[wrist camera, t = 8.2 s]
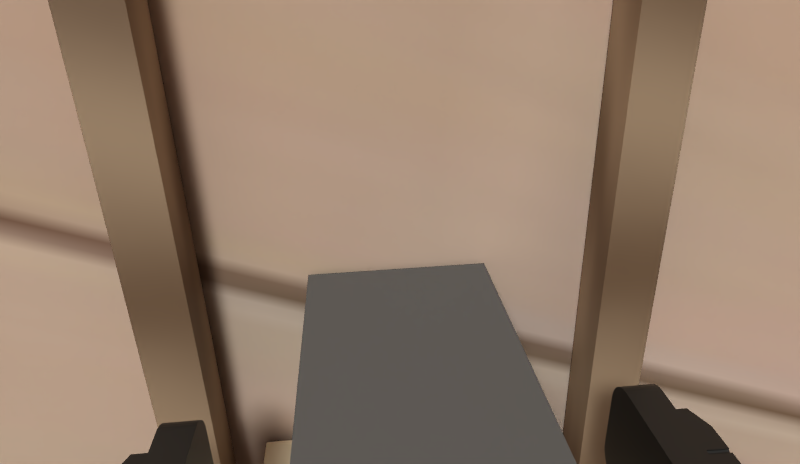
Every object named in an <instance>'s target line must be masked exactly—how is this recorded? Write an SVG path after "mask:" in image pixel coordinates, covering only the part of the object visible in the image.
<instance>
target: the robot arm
mask: <svg viewBox="0 0 800 464" xmlns="http://www.w3.org/2000/svg"><path fill="white" fill-rule="evenodd" d="M604 451H605V460H606V464H741V463H740V462H739V461H738V459H737V458H736V457H735V455H734V454H733V453H730V452H729V448H728V447H727V445H726V444H725V443H724V441H723V440H722V439H721V438H720V436H719V435H718V434H717V433H716V431H715V430H714V429H713V427H712V426H710V425H709V424H708V423H706V422H705V421H703V420H702V419H701V418H699V417H698V416H697V415H695V414H694V413H692V412H691V411H690V410H688V409H687V408H685V409H675V407H674V406H673V405H672V403H671V402H670V401H669V399H668V398H667V397H666V395H665V394H664V392H663V391H662V390H661V389H660V387H658V386H657V385H655V384H646V385H634V386H622V387H616V388H615V389H614V391H613V394H612V400H611V406H610V413H609V419H608V425H607V432H606V438H605V446H604ZM122 464H214V463H213V458H212V453H211V449H210V444H209V439H208V435H207V430H206V426H205V423H204V421H203V420H193V421H181V422H169V423H162V424H160V425H159V427H158V429H157V431H156V434H155V436H154V439H153V442H152V444H151V447H150V449H149V452H148V453H143V454H131V455H130V456H129V457H128V458H127V459H126V460H125V461H124V462H123V463H122Z"/></svg>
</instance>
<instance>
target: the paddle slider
mask: <svg viewBox="0 0 800 464" xmlns="http://www.w3.org/2000/svg"><path fill="white" fill-rule="evenodd" d="M264 464H577V463H576V461H575V459H574V457H573V455H572V452H571V450H570V448H569V446H568V444H567V442H566V439H565V437H564V435H563V433H562V431H561V429H560V427H559V424H558V422H557V420H556V418H555V416H554V414H553V411H552V409H551V407H550V405H549V403H548V401H547V399H546V396H545V394H544V392H543V390H542V388H541V386H540V383H539V381H538V379H537V377H536V375H535V373H534V371H533V368H532V366H531V364H530V362H529V360H528V358H527V355H526V353H525V351H524V349H523V347H522V345H521V343H520V340H519V338H518V336H517V334H516V332H515V330H514V327H513V325H512V323H511V321H510V319H509V317H508V315H507V312H506V310H505V308H504V306H503V304H502V302H501V299H500V297H499V295H498V293H497V291H496V289H495V287H494V284H493V282H492V280H491V278H490V276H489V274H488V271H487V269H486V267H485V265H484V263H481V264H466V265H451V266H436V267H421V268H406V269H391V270H376V271H361V272H346V273H331V274H316V275H308V285H307V295H306V305H305V315H304V325H303V335H302V345H301V355H300V366H299V376H298V386H297V396H296V406H295V416H294V426H293V436H292V440H288V441H276V442H267V444H266V451H265V457H264Z"/></svg>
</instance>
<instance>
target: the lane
mask: <svg viewBox="0 0 800 464" xmlns="http://www.w3.org/2000/svg"><path fill="white" fill-rule="evenodd" d="M48 2H49V6H50V10H51V14H52V18H53V22H54V26H55V29H56V33H57V37H58V41H59V45H60V49H61V53H62V57H63V61H64V64H65V68H66V72H67V76H68V80H69V84H70V88H71V92H72V96H73V99H74V103H75V107H76V111H77V115H78V119H79V123H80V127H81V131H82V134H83V138H84V142H85V146H86V150H87V154H88V158H89V162H90V166H91V169H92V173H93V177H94V181H95V185H96V189H97V193H98V197H99V201H100V204H101V208H102V212H103V216H104V220H105V224H106V228H107V232H108V236H109V239H110V243H111V247H112V251H113V255H114V259H115V263H116V267H117V271H118V274H119V278H120V282H121V286H122V290H123V294H124V298H125V302H126V306H127V309H128V313H129V317H130V321H131V325H132V329H133V333H134V337H135V341H136V344H137V348H138V352H139V356H140V360H141V364H142V368H143V372H144V375H145V379H146V383H147V387H148V391H149V395H150V399H151V403H152V407H153V410H154V414H155V418H156V422H157V426H158V427H159V425H160V424H162V423H169V422H181V421H193V420H203V421H204V423H205V426H206V430H207V435H208V439H209V444H210V449H211V453H212V458H213V463H214V464H236V462H235V456H234V451H233V446H232V441H231V435H230V430H229V425H228V420H227V415H226V409H225V404H224V399H223V394H222V388H221V383H220V378H219V373H218V368H217V362H216V357H215V352H214V347H213V342H212V336H211V331H210V326H209V321H208V315H207V310H206V305H205V300H204V295H203V289H202V284H201V279H200V274H199V269H198V263H197V258H196V253H195V248H194V242H193V237H192V232H191V227H190V222H189V216H188V211H187V206H186V201H185V195H184V190H183V185H182V180H181V175H180V169H179V164H178V159H177V154H176V149H175V143H174V138H173V133H172V128H171V122H170V117H169V112H168V107H167V102H166V96H165V91H164V86H163V81H162V75H161V70H160V65H159V60H158V55H157V49H156V44H155V39H154V34H153V29H152V23H151V18H150V13H149V8H148V2H147V0H48ZM706 4H707V0H614V1H613V9H612V18H611V27H610V35H609V44H608V52H607V61H606V69H605V78H604V87H603V95H602V104H601V112H600V121H599V129H598V138H597V147H596V155H595V164H594V172H593V181H592V189H591V198H590V207H589V215H588V224H587V232H586V241H585V249H584V258H583V266H582V275H581V284H580V292H579V301H578V309H577V318H576V326H575V335H574V344H573V352H572V361H571V369H570V378H569V386H568V395H567V404H566V412H565V421H564V429H563V435H564V437H565V439H566V442H567V444H568V446H569V448H570V450H571V452H572V455H573V457H574V459H575V461H576V463H577V464H606V460H605V451H604V446H605V438H606V432H607V425H608V419H609V413H610V406H611V400H612V394H613V391H614V389H615V388H616V387H622V386H634V385H639V379H640V374H641V368H642V363H643V357H644V351H645V346H646V340H647V335H648V329H649V323H650V318H651V312H652V307H653V301H654V295H655V290H656V284H657V279H658V273H659V267H660V262H661V256H662V251H663V245H664V240H665V234H666V228H667V223H668V217H669V212H670V206H671V200H672V195H673V189H674V184H675V178H676V172H677V167H678V161H679V156H680V150H681V144H682V139H683V133H684V128H685V122H686V116H687V111H688V105H689V100H690V94H691V88H692V83H693V77H694V72H695V66H696V60H697V55H698V49H699V44H700V38H701V32H702V27H703V21H704V16H705V10H706Z"/></svg>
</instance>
